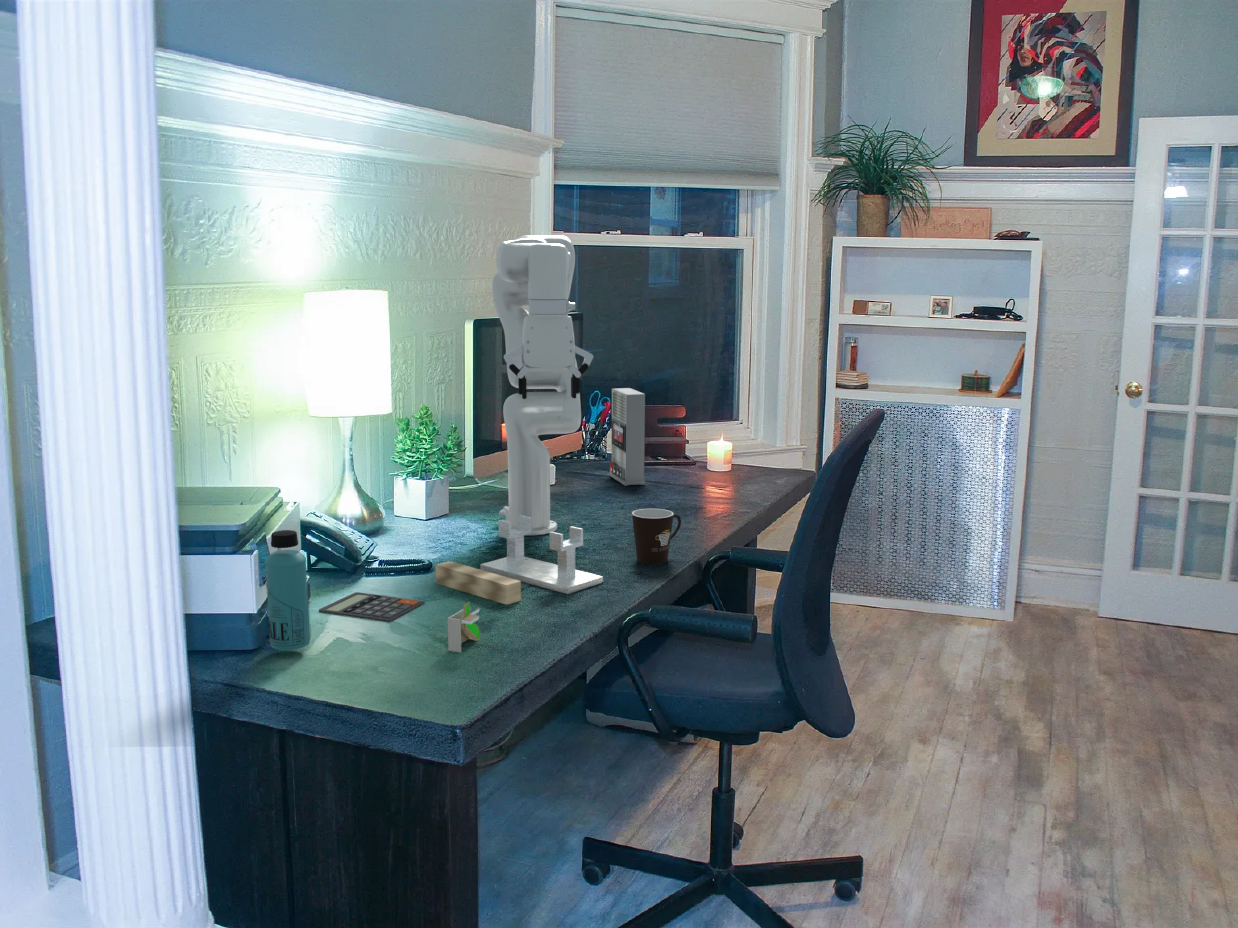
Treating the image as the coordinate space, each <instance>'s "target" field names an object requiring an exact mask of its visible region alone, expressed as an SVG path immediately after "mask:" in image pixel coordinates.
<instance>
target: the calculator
mask: <svg viewBox="0 0 1238 928" xmlns="http://www.w3.org/2000/svg"><path fill="white" fill-rule="evenodd" d="M425 603H426V602H425V601H424V600H417V599H411V598H402V597H397V596H396V597H395V596H388V595H381V594H375V593H373V594H372V593H367V592H366V593H365V592H361V591H360V592H358V591H356V592H353V593H351V594H349V595H346V596H345V597H342V598H340V599H339V600H336V601H334V602H332V603H329V604H327V605H325V606H323V607H321V608H319V609H318V612H319V613H323V614H330V615H335V616H336V615H338V616H343V617H350V618H358V619H365V620H371V621H377V622H384V623H385V622H386V623H392V622H394V621H396V620H397V619H399V618H401V617H403V616H405V615H406V614H408V613H410V612H412V611H413V610H416V609H418V608H419V607H422V606H424V605H425Z"/></svg>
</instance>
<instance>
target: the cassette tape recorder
mask: <svg viewBox="0 0 1238 928" xmlns="http://www.w3.org/2000/svg"><path fill="white" fill-rule="evenodd" d="M645 419H646V393H644V392H640V391H638V390H636V389H634V388H630V387H623V388H622V387H621V388H616V387H615V388H611V460H609V471H608V472H609V477H611V478H613V479H614V480H615V481H617V482H619V483H621V484H622V486H624V487H628V486H631V485H632V486H633V485H635V486H637V485H640V486H644V485H645V484H646V480H645V443H646V442H645V439H646V435H645V432H646V431H645V430H646V428H645V427H646V425H645V423H646V420H645Z"/></svg>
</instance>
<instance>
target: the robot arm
mask: <svg viewBox="0 0 1238 928" xmlns="http://www.w3.org/2000/svg"><path fill="white" fill-rule="evenodd" d="M574 247H575V246H574V243H573V242H572V241H571V240H570V239H569V237H567V236H565V235H559V234H558V235H557V234H556V235H555V234H554V235H551V234H550V235H547V234H546V235H545V234H542V235H541V234H540V235H539V234H538V235H535V234H533V235H532V234H526V235H521V236H518V237H516V238H515V239H514V240H507V241H502V242H501V243H499V246H498V248H497V251H496V260H495V261H496V262H495V263H496V269H497V272H496V273H495V274H494V275H493V278H492V282H491V291H492V299H493V303H494V307H495V311H496V313H497V316H498V318H499V320H500V323H501V326H502V328H503V333H504V341H505V342H504V343H505V354H504V355H503V359H504V362H505V364H506V370H507V371H506V372H507V378H508V381H509V383H510V385H511V386H512V387H514V388H516V389H518V393H517V392H515V393H514V394H511V395H509V396H508V397H507V398H506V399H505V401H504V404H503V407H502V413H503V421H504V426H505V433H506V442H507V443H506V444H507V471H508V472H507V477H508V478H507V482H508V483H507V484H508V485H507V486H508V488H507V489H508V491H507V492H508V495H507V496H508V499H507V500H508V506H507V505H504V506H503V508H502V509H500V510H499V512H498V515H499V516H502V517H505V521H508V522H511V529H515V528H519V515H523V516H528V517H531V525H532V533H531V534H527V535H525V536H541V535H546V534H548V535H549V532H556V531H557V529H558V524H557V522H556V521H554V520H551V456H550V452H549V450H548V447H546V445H545V444H544V443H543V442H542V440H540V438H539V436H542V435H564V434H565V435H566V434H573V433H575V432H577V431H578V430H579V429H580V427H581V424H582V423H581V422H582V407H581V406H582V404H581V395H580V394H581V393H580V378H581V377H582V375H583V374H584V373H585V372H586V371H587V370H588V369H589V367H590V365H591V363H592V362H593V359H594V355H593V354H592V353H590V352H589V351H586V350H585V349H583V348H580V347H578V346H577V345H576V344H575V340H576V339H575V332H574V323H573V317H572V316H570V315H569V312H571V311H575V310H576V302H570V301H569V298H570V294H571V288H572V283H573V277H574V272H575V271H574V270H575V265H576V252H575V248H574ZM524 307H528V310H526V309H525V308H524ZM576 355H579V356H580V357H583V359H584V360H583V362H582V364H580V365H579V367H578V363H577V359H576ZM531 389H532V390H533V389H534V390H535V389H536V390H537V389H538V390H541V389H546V390H547V389H549V390H550V389H551V390H553V389H554V390H556V391H531V392H530V391H528V390H531ZM527 391H528V392H527Z"/></svg>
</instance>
